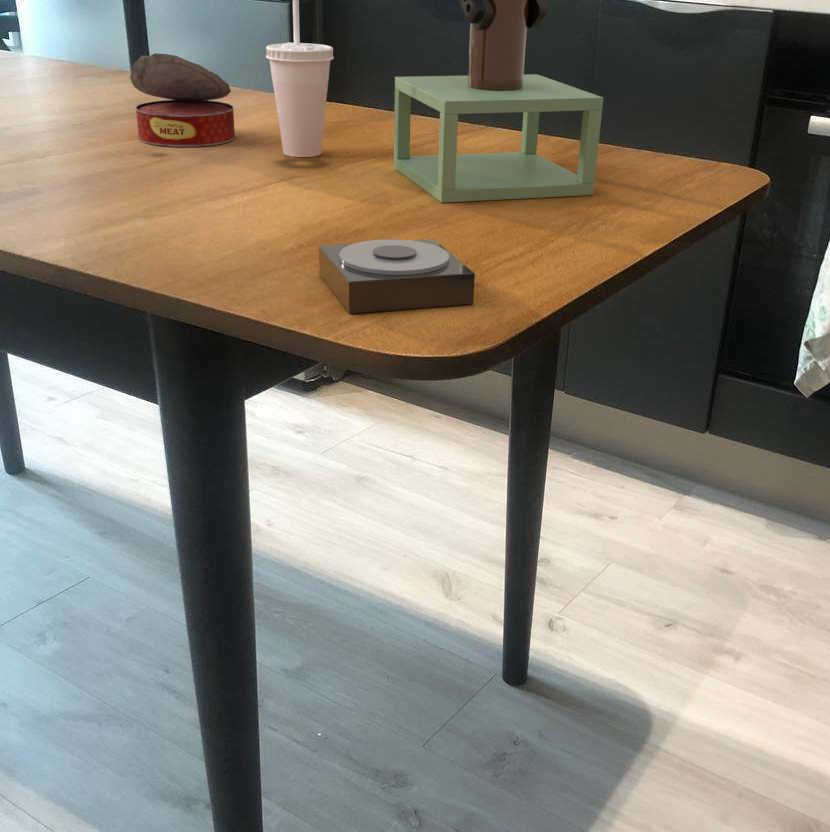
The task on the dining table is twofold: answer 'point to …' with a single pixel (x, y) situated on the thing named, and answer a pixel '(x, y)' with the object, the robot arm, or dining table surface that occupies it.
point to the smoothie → (300, 91)
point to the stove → (395, 275)
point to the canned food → (181, 103)
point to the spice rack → (494, 171)
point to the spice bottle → (499, 48)
